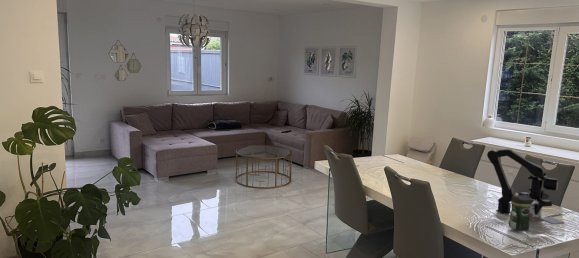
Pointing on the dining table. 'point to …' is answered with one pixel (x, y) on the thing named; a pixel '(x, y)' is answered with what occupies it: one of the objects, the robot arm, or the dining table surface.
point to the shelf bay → (534, 218)
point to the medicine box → (532, 210)
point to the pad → (552, 220)
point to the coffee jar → (520, 212)
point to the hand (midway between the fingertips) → (532, 213)
